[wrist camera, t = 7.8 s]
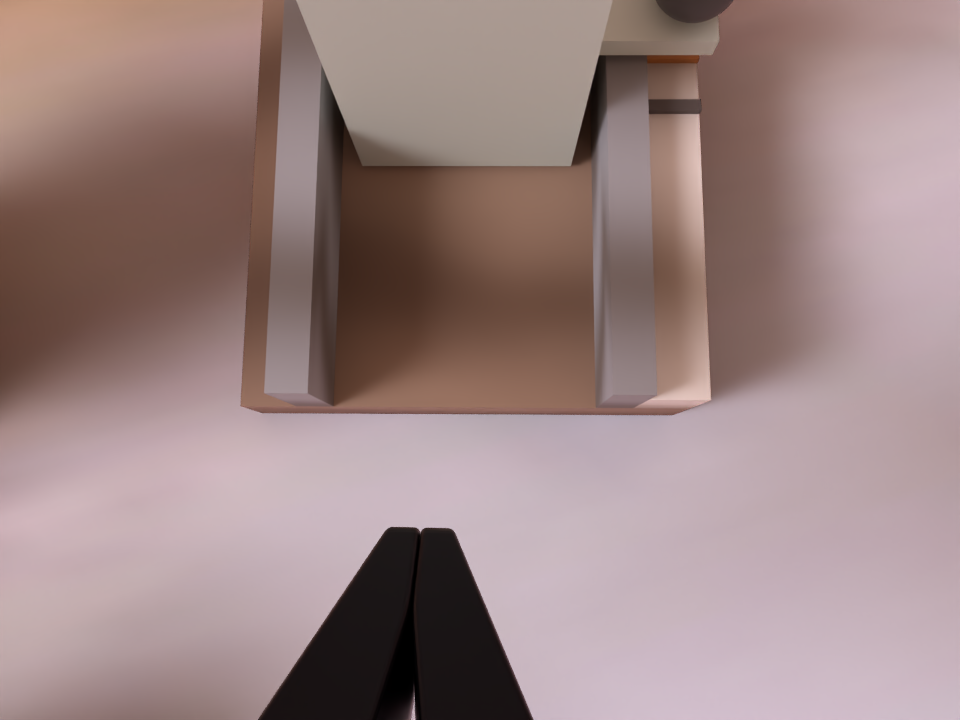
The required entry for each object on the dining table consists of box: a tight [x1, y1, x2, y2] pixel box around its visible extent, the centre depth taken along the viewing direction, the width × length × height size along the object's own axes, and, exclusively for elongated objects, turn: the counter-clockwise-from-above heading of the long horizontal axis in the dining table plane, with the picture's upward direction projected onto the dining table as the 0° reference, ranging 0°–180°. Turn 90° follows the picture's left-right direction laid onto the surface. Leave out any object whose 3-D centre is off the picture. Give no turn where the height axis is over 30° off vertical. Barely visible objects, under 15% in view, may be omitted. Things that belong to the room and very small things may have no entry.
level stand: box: [241, 0, 711, 415], centre depth 22 cm, size 18×12×5 cm, turn 0°
